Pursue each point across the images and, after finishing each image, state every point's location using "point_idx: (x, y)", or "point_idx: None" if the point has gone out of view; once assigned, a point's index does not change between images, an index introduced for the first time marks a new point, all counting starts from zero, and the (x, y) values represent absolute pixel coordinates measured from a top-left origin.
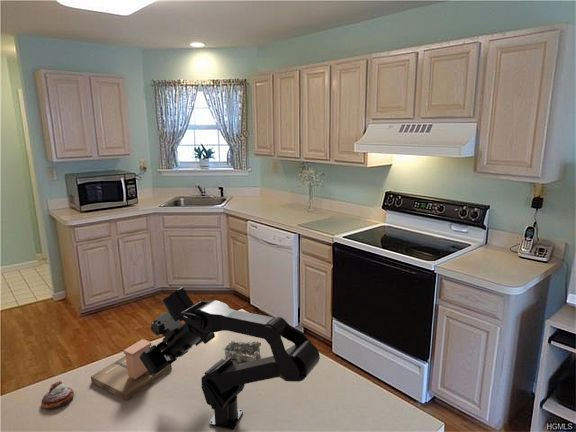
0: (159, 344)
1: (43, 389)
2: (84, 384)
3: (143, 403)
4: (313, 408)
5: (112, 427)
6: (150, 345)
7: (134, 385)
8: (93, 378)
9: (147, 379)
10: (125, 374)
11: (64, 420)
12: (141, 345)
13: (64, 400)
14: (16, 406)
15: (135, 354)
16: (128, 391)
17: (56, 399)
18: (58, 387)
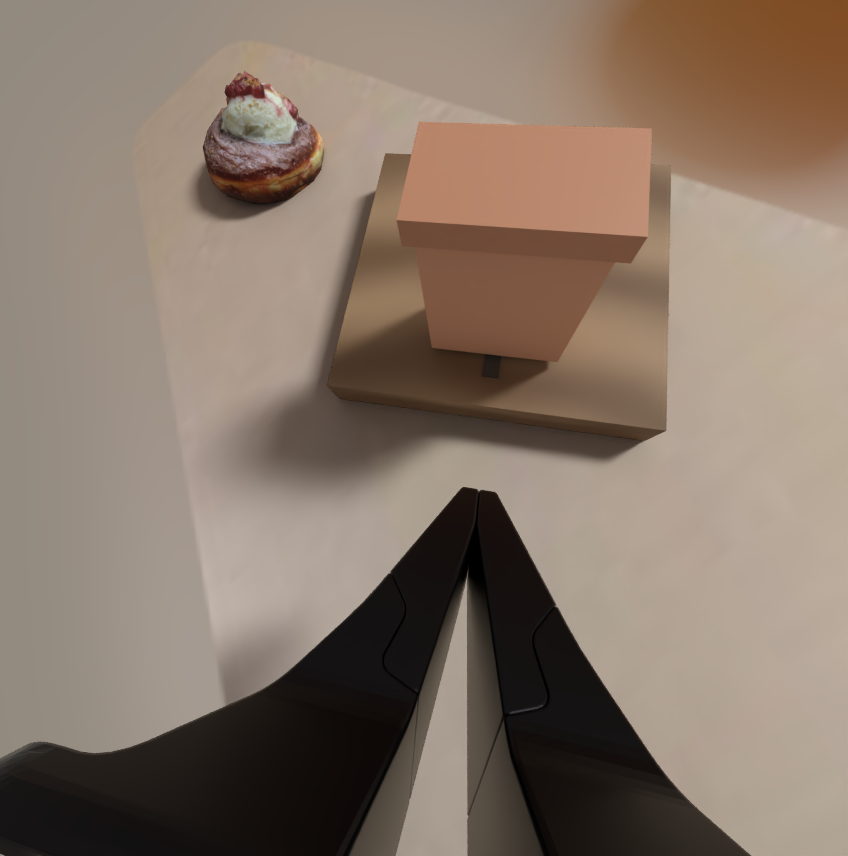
0: (42, 851)
1: (305, 81)
2: (373, 169)
3: (346, 484)
4: None
5: (183, 459)
6: (621, 256)
7: (397, 375)
8: (382, 172)
9: (465, 404)
10: None
11: (185, 264)
12: (553, 193)
13: (235, 185)
14: (213, 86)
15: (435, 240)
16: (347, 380)
17: (212, 158)
18: (234, 108)
